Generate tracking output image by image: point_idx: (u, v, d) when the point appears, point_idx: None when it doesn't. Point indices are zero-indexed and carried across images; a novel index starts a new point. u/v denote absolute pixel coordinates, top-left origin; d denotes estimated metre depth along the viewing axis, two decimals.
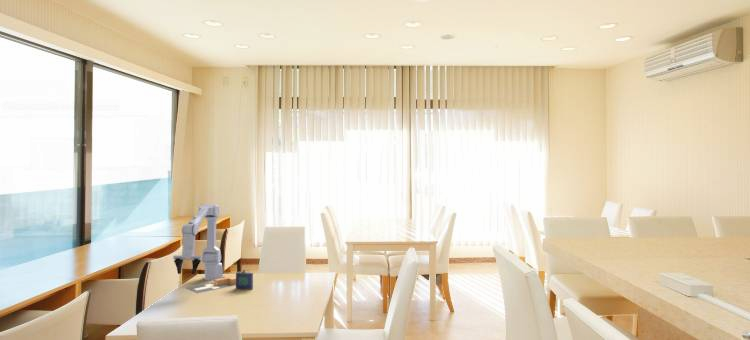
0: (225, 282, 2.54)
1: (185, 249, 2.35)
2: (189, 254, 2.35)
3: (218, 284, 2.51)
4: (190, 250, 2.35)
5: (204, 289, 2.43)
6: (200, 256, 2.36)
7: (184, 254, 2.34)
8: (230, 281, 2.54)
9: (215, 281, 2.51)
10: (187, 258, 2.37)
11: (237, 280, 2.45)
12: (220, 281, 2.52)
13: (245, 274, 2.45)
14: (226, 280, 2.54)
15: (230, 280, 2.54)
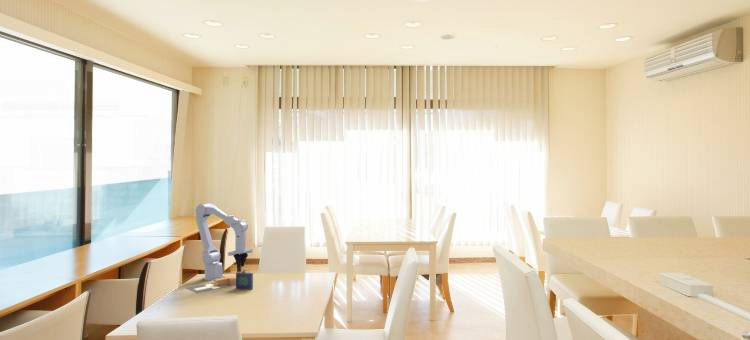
0: (225, 282, 2.54)
1: (243, 246, 2.60)
2: (245, 249, 2.62)
3: (218, 284, 2.51)
4: (245, 245, 2.62)
5: (204, 289, 2.43)
6: (252, 249, 2.66)
7: (242, 250, 2.60)
8: (230, 281, 2.54)
9: (215, 281, 2.51)
10: None
11: (237, 280, 2.45)
12: (220, 281, 2.52)
13: (245, 274, 2.45)
14: (226, 280, 2.54)
15: (230, 280, 2.54)
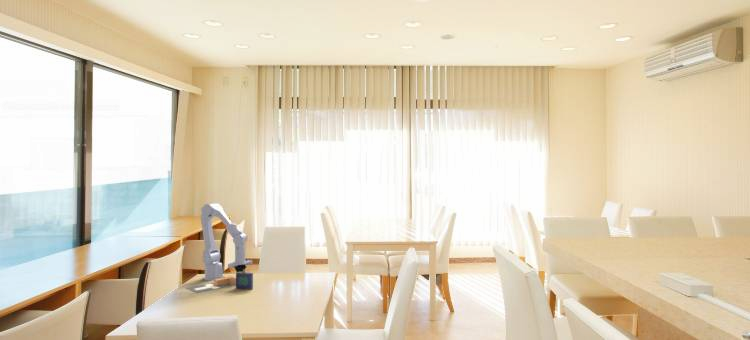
0: (225, 282, 2.54)
1: (242, 257, 2.60)
2: (245, 261, 2.62)
3: (218, 284, 2.51)
4: None
5: (204, 289, 2.43)
6: None
7: (241, 261, 2.60)
8: (230, 281, 2.54)
9: (215, 281, 2.51)
10: None
11: (237, 280, 2.45)
12: (220, 281, 2.52)
13: (245, 274, 2.45)
14: (226, 280, 2.54)
15: (230, 280, 2.54)
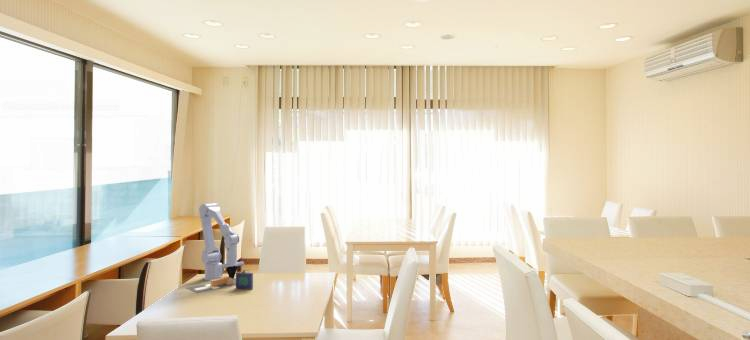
0: (221, 282, 2.52)
1: (234, 259, 2.56)
2: (236, 262, 2.58)
3: (214, 285, 2.49)
4: (236, 258, 2.58)
5: (204, 289, 2.43)
6: (243, 262, 2.62)
7: (233, 263, 2.56)
8: (226, 281, 2.52)
9: (211, 282, 2.50)
10: None
11: (237, 280, 2.45)
12: (216, 281, 2.50)
13: (245, 274, 2.45)
14: (222, 280, 2.52)
15: (226, 280, 2.52)
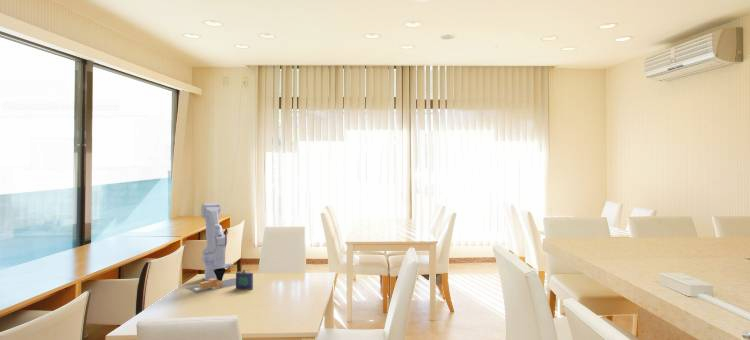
0: (210, 285, 2.47)
1: (222, 260, 2.51)
2: (224, 264, 2.52)
3: (203, 287, 2.44)
4: (224, 260, 2.53)
5: (204, 289, 2.43)
6: None
7: (221, 265, 2.50)
8: (216, 284, 2.47)
9: (200, 284, 2.45)
10: None
11: (237, 280, 2.45)
12: (205, 284, 2.45)
13: (245, 274, 2.45)
14: (211, 283, 2.48)
15: (215, 283, 2.48)
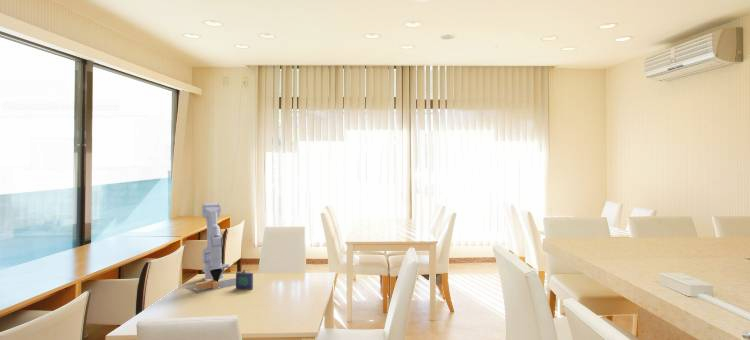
0: (207, 286, 2.46)
1: (218, 261, 2.49)
2: (221, 265, 2.51)
3: (199, 288, 2.43)
4: None
5: (204, 289, 2.43)
6: (228, 264, 2.56)
7: (217, 265, 2.49)
8: (212, 285, 2.46)
9: (196, 285, 2.43)
10: None
11: (237, 280, 2.45)
12: (201, 285, 2.44)
13: (245, 274, 2.45)
14: (208, 284, 2.46)
15: (211, 283, 2.46)
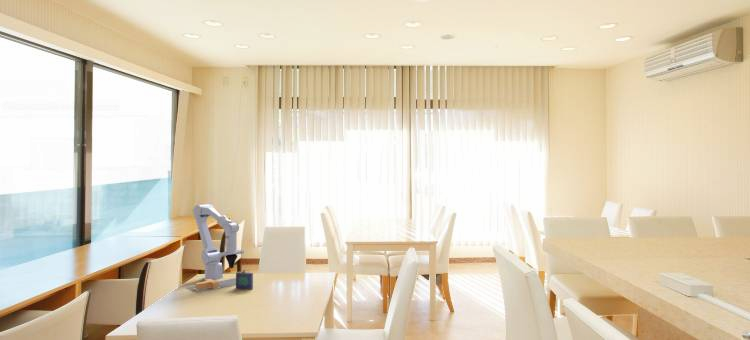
0: (206, 286, 2.46)
1: (233, 246, 2.57)
2: (236, 250, 2.58)
3: (199, 288, 2.43)
4: (236, 246, 2.59)
5: (204, 289, 2.43)
6: (243, 250, 2.63)
7: (232, 251, 2.56)
8: (212, 285, 2.46)
9: (196, 285, 2.43)
10: None
11: (237, 280, 2.45)
12: (201, 285, 2.44)
13: (245, 274, 2.45)
14: (208, 284, 2.46)
15: (211, 283, 2.46)
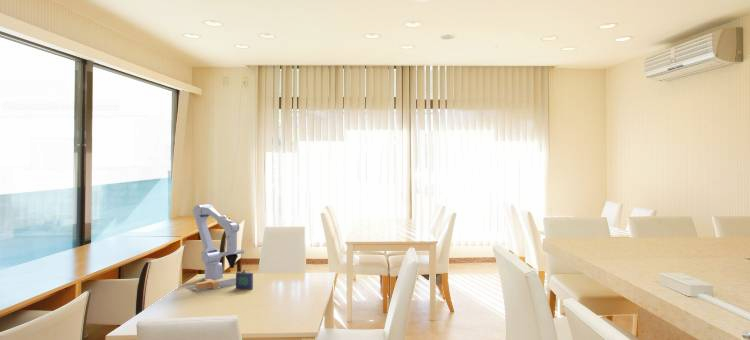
0: (206, 286, 2.46)
1: (234, 246, 2.57)
2: (236, 250, 2.59)
3: (199, 288, 2.43)
4: (236, 246, 2.59)
5: (204, 289, 2.43)
6: (243, 250, 2.63)
7: (233, 251, 2.57)
8: (212, 285, 2.46)
9: (196, 285, 2.43)
10: None
11: (237, 280, 2.45)
12: (201, 285, 2.44)
13: (245, 274, 2.45)
14: (208, 284, 2.46)
15: (211, 283, 2.46)
